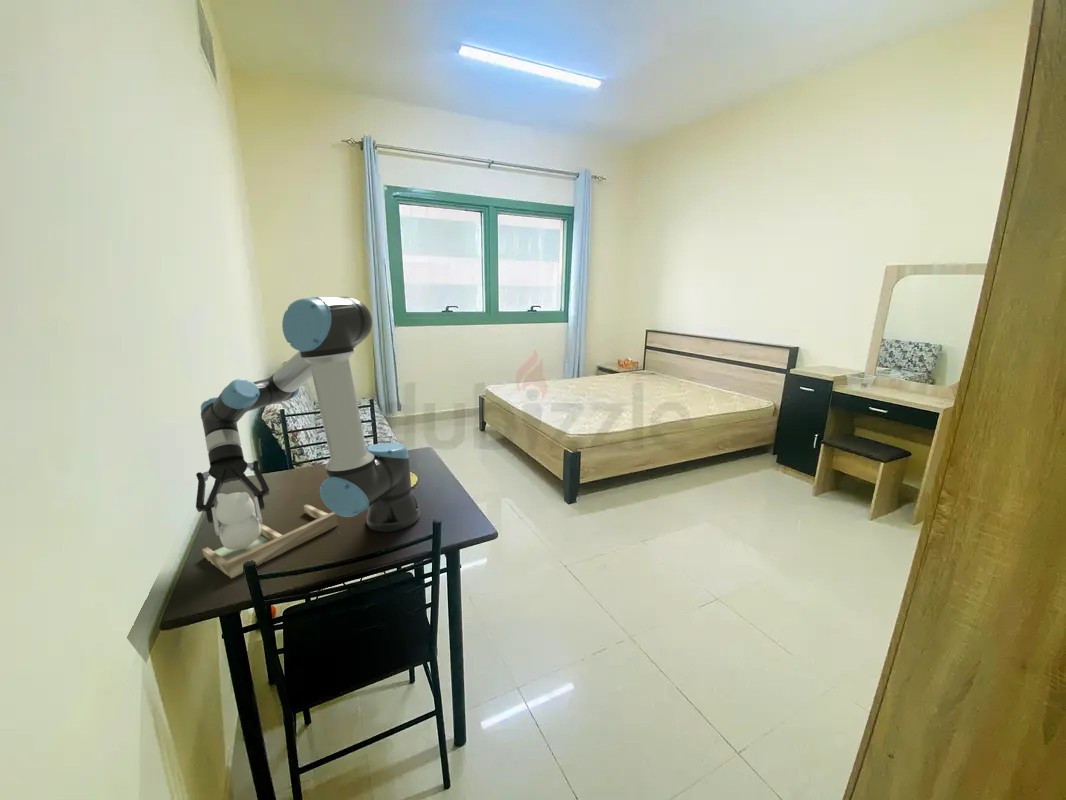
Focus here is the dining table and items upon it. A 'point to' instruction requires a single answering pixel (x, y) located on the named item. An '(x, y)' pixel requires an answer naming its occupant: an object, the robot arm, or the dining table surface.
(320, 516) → the organizer
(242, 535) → the cat figurine
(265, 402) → the robot arm
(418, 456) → the dining table surface
